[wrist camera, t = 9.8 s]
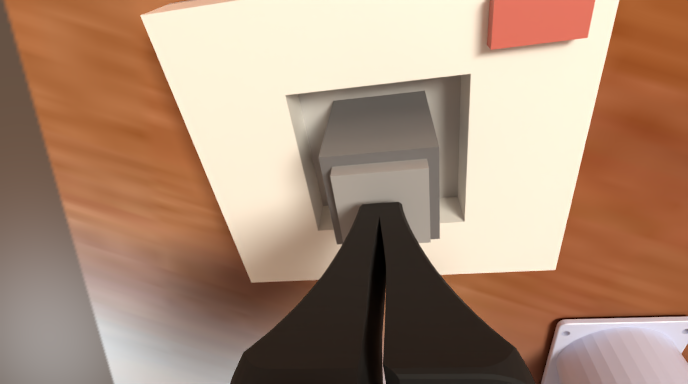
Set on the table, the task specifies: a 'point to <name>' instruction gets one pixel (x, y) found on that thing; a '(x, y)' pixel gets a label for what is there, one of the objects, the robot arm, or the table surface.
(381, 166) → the plug
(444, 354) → the robot arm
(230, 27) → the faceplate
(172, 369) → the table surface
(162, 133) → the table surface
